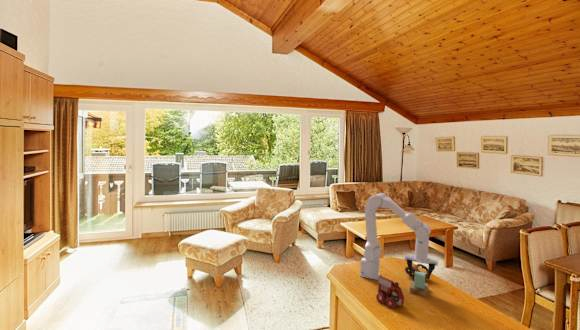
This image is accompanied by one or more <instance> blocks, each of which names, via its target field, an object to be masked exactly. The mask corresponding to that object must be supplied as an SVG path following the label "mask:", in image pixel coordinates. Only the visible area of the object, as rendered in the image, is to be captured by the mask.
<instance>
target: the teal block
mask: <svg viewBox="0 0 580 330" xmlns="http://www.w3.org/2000/svg"><path fill="white" fill-rule="evenodd" d="M425 274H426V272H422V271H420V272H416V271H415V274H414V280H413V281H414V287H416V288H422V289H425V283H426V280H425Z"/></svg>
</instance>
